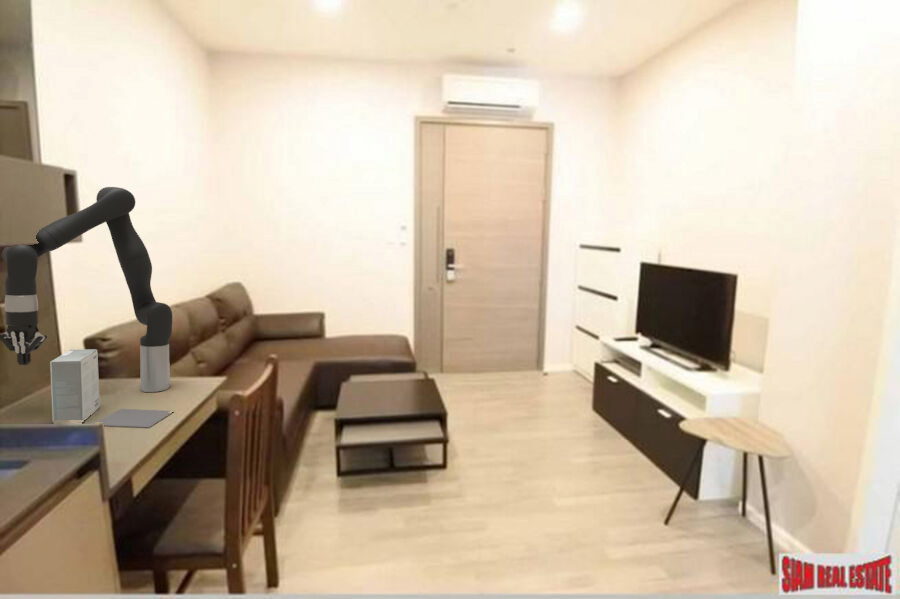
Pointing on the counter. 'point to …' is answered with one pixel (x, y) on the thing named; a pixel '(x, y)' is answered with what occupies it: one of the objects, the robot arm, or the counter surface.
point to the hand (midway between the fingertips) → (24, 364)
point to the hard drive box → (75, 385)
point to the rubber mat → (134, 418)
